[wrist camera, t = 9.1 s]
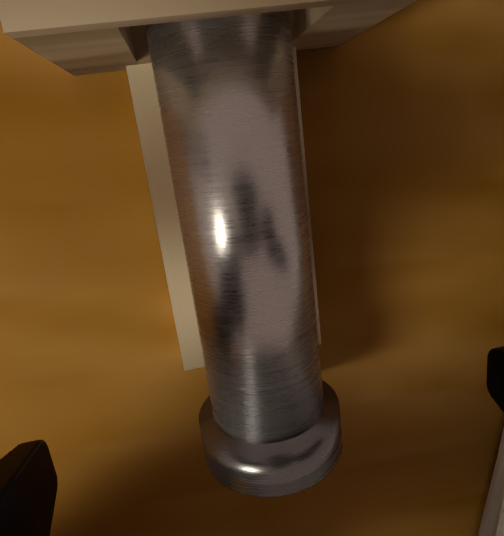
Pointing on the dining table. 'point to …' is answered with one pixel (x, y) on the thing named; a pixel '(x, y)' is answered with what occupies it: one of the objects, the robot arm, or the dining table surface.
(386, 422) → the dining table surface
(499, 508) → the square plate
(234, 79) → the shaft
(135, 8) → the bearing bed
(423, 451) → the dining table surface
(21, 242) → the dining table surface
